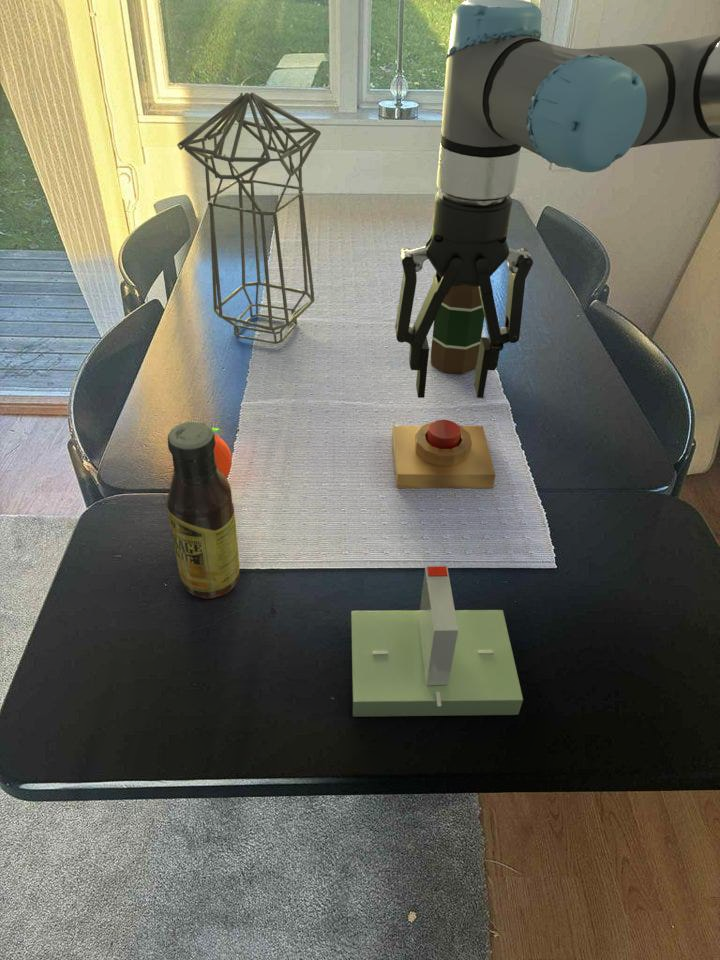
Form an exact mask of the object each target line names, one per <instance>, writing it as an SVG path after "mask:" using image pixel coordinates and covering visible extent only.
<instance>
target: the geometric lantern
mask: <svg viewBox="0 0 720 960" xmlns="http://www.w3.org/2000/svg"><path fill="white" fill-rule="evenodd" d="M243 93H244V92H240V93H239V95H238V96H237V97H236V98H235V99H233V100H232V101H231V102H230V103H229V104H227V105H226V106H225V107H223V108H222V109H220V110H219V111H218V112H217V113H215V114H214V115H213V116H212V117H210V118H209V119H208V120H206V121H205V122H204V123H202V124H201V125H199V127H197V128H196V129H195V130H193V131H192V132H191V133H190V134H189V135H187V136H185V138H183V139H181V141H179V142H178V143H177V144H176V146H177V147H178V149H179V150H180V151H182V150H183V149H184V151H185V152H187V153H188V154H189V155H190V156H192V158H194V159H195V160H196V161H197V162H199V163H200V164H201V165H202V166H204V170H205V171H204V173H205V182H206V185H205V186H206V198H207V199H206V200H207V202H208V203H207V205H208V207H209V224H210V225H209V227H210V228H209V229H210V246H211V247H210V252H211V254H210V255H211V274H212V275H211V277H212V278H211V279H212V298H213V299H212V300H213V311H214V313H215V314H216V315H217V317H218V318H220V319H222V320H224V321H226V322H227V323H229V324H230V325H231V326H233V335H234V336H235V337H237V338H239V339H244V340H250V341H256V342H262V343H266V344H272V345H278V344H280V343H282V342H284V340H285V339H287V337H288V336H289V335H290V333H291V332H292V331H293V330H294V329H295V328H296V326H297V325H298V318H299V317H300V316H301V315H302V314H303V313H305V311H307V310H308V308H309V307H310V306H312V305H313V304H314V303H315V301H316V300H315V291H314V290H315V289H314V282H313V272H312V264H311V254H310V245H309V235H308V229H307V228H308V227H307V220H306V219H307V218H306V210H305V209H306V208H305V199H304V193H303V191H304V187H303V166H304V164H305V162H306V160H307V159H308V158H309V156H310V154H311V152H312V150H313V149H314V147H315V145H316V143H317V141H318V140H319V138H320V137H321V134H322V133H321V131H320V130H319V129H317V128H316V127H314V126H312V125H310V124H309V123H307V122H306V121H303V120H301V118H299V117H296V116H295V115H293V114H291V113H289V112H287V111H286V110H285V109H282V108H281V107H280V106H277V105H275V104H274V103H272V102H270V101H269V100H266V99H265V98H263V97H261V96H259V95H258V94H256V93H255V92H252V91H251V92H245V93H244V94H243ZM248 106H249V108H250V111H251V114H252V117H253V120H254V122H252V121H249V120H246V119H245V118H246V113H247V110H248ZM256 110H257V111H258V114H259V116H260V118H261V120H262V123H263V125H262V124H260V120H259V117H258V114H257V111H256ZM271 110H272V111H273V112H275V113H276V114H279V115H280V116H283V117H284V118H285V119H288V120H290V121H292V122H293V123H295V124H298V125H299V126H301V127H298V128H297V127H296V128H291V127H287V126H284V125H283V124H282V123H281V122H280V120H279V119H278V118H277V116H275V115H274V114H273V113H272V111H271ZM235 122H237V123H238V126H237V128H236V133H235V136H234V137H235V138H234V141H233V145H232V149H231V152H230V156H227V155H226V154H223V150H224V147H225V142H226V138H227V137H228V135H229V132H230V131H231V129H232V128H233V126H234V124H235ZM273 123H274V124H275V125H274V124H273ZM210 126H212V127H211V128H210V129H209V130H208V131H207V132H205V134H204V135H203V136H202V137H199V136H200V135H201V134H202V133H203V132H204V131H205V130H207V129H208V128H209V127H210ZM251 127H252V128H256V130H257V133H256V132H255V131H254V130H253V129H252V128H251ZM243 128H244V129H245V130H246V131H247V132H248V133H249V134H251V136H252V137H254V139H256V140H257V141H258V142H259V143H260V144H261V147H262V153H261V155H260V156H257V157H255V156H253V157H252V156H249V157H248V156H236V154H237V150H238V147H239V142H240V138H241V134H242V130H243ZM215 131H216V132H215ZM263 131H267V134H268V135H269V136H268V143H267V142H266V139H265V136H264V133H263ZM279 131H280V132H282V133H283V134H284V135H285V142H284V140H283V138H282V137H281V135H280V133H279ZM294 133H295V134H296V133H305V135H303V136H302V137H300V138H299V139H298V140H296V139H295V138H294V137H293V136H292V134H294ZM273 135H274V137H275V138H276V140H277V141H278V143H279V144H280V146H281V148H278V145H277V144H276V142H275V139H274V137H273ZM219 136H220V138H219V139H218V140H217V137H219ZM197 137H198V138H197ZM207 140H208V141H210V140H213V146H214V148H213V149H208V148H206V141H207ZM217 141H218V142H217ZM289 141H290V142H291V143H292V145H290V146H289ZM198 143H201V146H202V147H198V146H194V144H198ZM302 143H303V144H302ZM272 144H273V146H272ZM301 144H302V145H301ZM288 146H289V147H288ZM306 148H307V149H306ZM305 149H306V151H305V152H304V150H305ZM269 151H272V152H275V153H277V155H278V158H271V155H270V152H269ZM303 152H304V154H303ZM297 153H299V163H298V164H297V166H296V167H295V165H294V163H293V157H292V156H293V155H295V154H297ZM200 156H201V157H200ZM202 157H203V158H204V159H203V158H202ZM286 158H288V163H289V165H288V164H287V162H286V161H285V159H286ZM214 159H216V160H219V161H224V162H227V165H228V167H229V171H230V174H221V173H220V172H219V171H217V168H216V164H215V160H214ZM209 160H210V163H211V164H209ZM235 162H237V163H239V162H241V163H255V164H254V165H252V166H250V167H248V168H247V169H245V170H242V171H241V172H240V171H238V170H237V168H236V167H235V165H234V164H233V163H235ZM270 162H280V164H281V165H282V167H283V168H284V170H285V171H286V173H287V174H288V177H287V180H286V182H285V184H283V183H276V182H270V181H264V180H257V179H254V178H255V177H256V174H257V172H258V170H259V168H261V167H263V166H265V165H267V164H268V163H270ZM234 171H235V172H234ZM210 172H211V173H212V174H213V175H214V178H215V179H219V183H218V186H217V189H216V192H215V193H213V194H211V184H210V183H211V181H210V180H211V179H210ZM235 173H236V174H235ZM250 173H251V175H250V177H249V178H248V179H245V178H244V177H245V176H247V175H249V174H250ZM294 175H295V177H296V180H297V183H298V186H296V185H290V184H289V183H290V181H291V179H292V177H293V176H294ZM224 180H234V181H232V182H230V183H229V184H228V185H226V186H224V187H223V188H221V187H222V184H223V181H224ZM236 184H237V185H238V203H239V205H238V207H236V206H231V205H225V204H219V203H216V201H217V198H218V196H219V194H222V193H223V192H225V191H226V190H228V189H229V188H231V187H233V186H234V185H236ZM245 184H248V185H250V192H249V190H248V189H247V187H246V186H245ZM255 184H261V185H267V186H275V187H280V188H283V189H282V192H281V193H280V197H279V199H278V201H277V203H276V205H275V209H274V210H265V211H263V210H262V209H261V208H260V206H259V204H258V203H257V202H256V197H255ZM287 189H293V190H298V191H297V192H298V193H297V194H296V195H295V196H293V197H292V198H291V199H289V200H288V201H286V202H285V203H283V204H282V205H281V202H282V200H283V197H284V196H285V192H286V190H287ZM243 192H244V194H245V195H246V196H247V198H248V199H249V201H250V202H251V209H247V208H244V206H243V205H244V204H243V203H244V201H243ZM297 199H298V207H299V222H300V223H299V224H300V239H301V253H302V254H301V255H302V271H303V285H304V286H303V287H304V289H303V290H302V289H298V288H293V287H288V286H286V283H285V276H284V265H283V258H282V250H281V241H280V231H279V222H278V214H277V213H279V212H280V211H281V210H283V209H284V208H285V207H287V206H288V205H290V204H291V203H293V202H294V201H296V200H297ZM214 207H216V208H220V209H221V208H222V209H227V210H232V211H239V232H240V233H239V234H240V235H239V236H240V257H241V285H240V286H238V288H237V289H235V290H234V291H233V292H232V293H230V294H229V295H228V296H227V297H226V298H224V299H223V300H222V295H221V293H222V292H221V282H220V273H219V271H220V270H219V259H218V247H217V235H216V224H215V212H214ZM244 213H249V214H252V215H251V216H252V223H253V224H252V226H253V241H254V242H253V243H254V255H255V266H256V279H257V281H252V282H246V262H245V261H246V259H245V258H246V257H245V234H244V233H245V232H244V231H245V230H244V227H245V226H244ZM257 215H259V217H260V218H259V219H260V232H261V242H262V255H263V269H264V279H265V282H262V281H261V267H260V266H261V265H260V252H259V239H258V225H257V224H258V223H257ZM265 216H272V218H273V228H274V236H275V244H276V254H277V261H278V270H279V271H278V272H279V279H280V285H277V284H272V283H270V274H269V262H268V261H269V259H268V249H267V248H268V247H267V236H266V225H265ZM308 282H309V283H308ZM308 285H309V286H308ZM253 286H255V301H254V303H253V302H252V300H251V298H250V295H249V294H248V291H247V289H246V287H253ZM259 286H263V287H265V293H266V304H262V303H258V300H259V288H260V287H259ZM308 287H309V288H308ZM271 288H272V289H276V290H281V295H282V304H283V306H277V305H272V298H271ZM242 290H243V292H244V294H245V296H246V299H247V301H248V304H249V305H248V306H247V307H246V309H244V311H243V312H242V313H241V314H240V315H239V316H238V317H233V316H229V315H225V314H223V306H224V305H225V304H227V303H228V302H229V301H230V300H231V299H232V298H234V297H235V296H236V295H237V294H238V293H240V292H241V291H242ZM287 292H292V293H295V294H296V293H297V294H300V295H301V294H302V295H301V296H300V297H299V299H298V301H297V302H296V303H295V305H294V307H293V308H291V307H290V308H289V307H288V302H287V301H288V300H287ZM305 296H307V297H308V298H309V301H307V302H305V304H304V305H302V306H301V307H300V308H298V306H299V305H300V303H301V302H302V301H303V299H304V297H305ZM253 307H255V314H253ZM259 307H263V308H267V313H268V315H267V314H263V313H259ZM272 309H276V310H283V312H284V317H280V316H275V315H273V311H272ZM296 309H297V310H296ZM248 311H249V316H248V317H247V318H246V319H242V318H243V317H244V316H245V315H246V314H247V312H248ZM289 311H290V313H291V316H290V317H289ZM255 317H262V318H267V319H268V325H264V324H261V323H257V322H253V321H250V320H252V318H255ZM273 319H275V320H281V321H285V323H282V324H279V325H276V326H274V323H273ZM238 323H240V324H241V325H240V324H238ZM292 324H293V325H292ZM245 325H247V326H245ZM291 325H292V326H291ZM290 326H291V328H289V329H288V331H286V333H285V334H284V335H283V331H284V330H285V329H286V328H287V327H290ZM255 327H256V328H255ZM242 329H244V330H249V331H255V332H261V333H265V334H270V335H273V340H268V339H263V338H258V337H257V338H256V337H251V336H246V335H240V330H242ZM277 330H278V331H277ZM277 335H279V340H277Z"/></svg>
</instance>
